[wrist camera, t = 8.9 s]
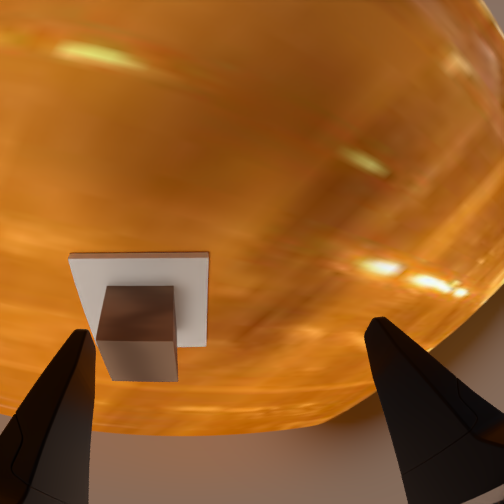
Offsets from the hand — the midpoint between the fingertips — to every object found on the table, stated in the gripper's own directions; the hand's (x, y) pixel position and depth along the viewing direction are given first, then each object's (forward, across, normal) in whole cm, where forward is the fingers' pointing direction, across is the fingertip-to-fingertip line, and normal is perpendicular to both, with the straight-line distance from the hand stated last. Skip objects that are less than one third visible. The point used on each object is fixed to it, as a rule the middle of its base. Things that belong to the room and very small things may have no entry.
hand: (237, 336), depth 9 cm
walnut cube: (+11, +5, +11) cm, 17 cm away
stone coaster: (+12, +5, +11) cm, 17 cm away
